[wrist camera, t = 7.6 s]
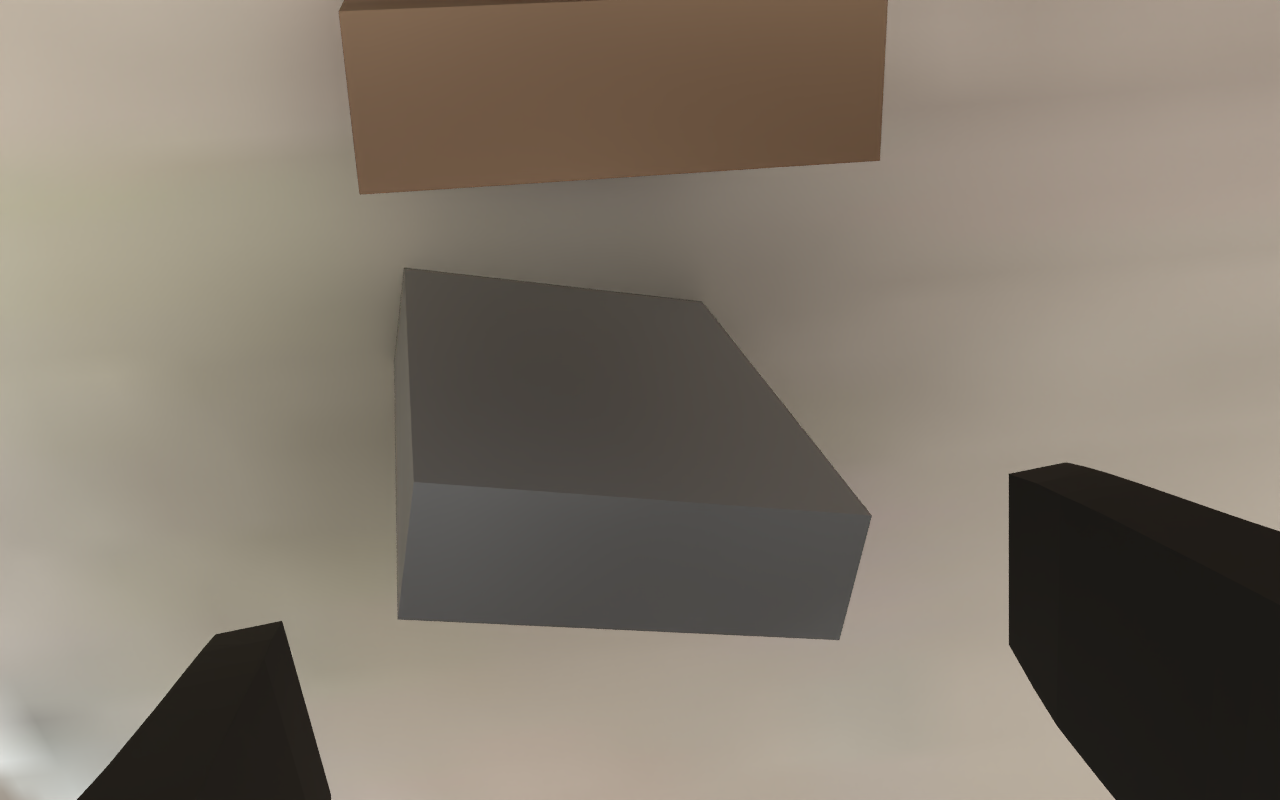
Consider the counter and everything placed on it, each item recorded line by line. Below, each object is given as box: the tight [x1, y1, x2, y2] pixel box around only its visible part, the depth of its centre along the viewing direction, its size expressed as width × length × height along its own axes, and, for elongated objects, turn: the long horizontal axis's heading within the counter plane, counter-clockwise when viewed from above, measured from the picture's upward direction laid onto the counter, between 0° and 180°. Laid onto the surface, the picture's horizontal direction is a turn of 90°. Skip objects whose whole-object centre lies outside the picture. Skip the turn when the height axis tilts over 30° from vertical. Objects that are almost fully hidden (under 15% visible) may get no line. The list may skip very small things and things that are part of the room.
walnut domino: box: [339, 0, 888, 194], centre depth 15 cm, size 2×5×8 cm, turn 92°
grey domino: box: [394, 268, 872, 640], centre depth 17 cm, size 2×5×8 cm, turn 81°
